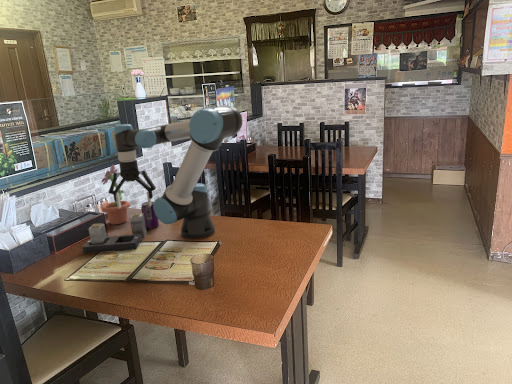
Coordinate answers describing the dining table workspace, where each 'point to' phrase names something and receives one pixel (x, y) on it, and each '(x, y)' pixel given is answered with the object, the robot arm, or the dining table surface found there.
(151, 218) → the beverage can
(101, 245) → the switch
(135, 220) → the block
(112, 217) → the decorative flower
